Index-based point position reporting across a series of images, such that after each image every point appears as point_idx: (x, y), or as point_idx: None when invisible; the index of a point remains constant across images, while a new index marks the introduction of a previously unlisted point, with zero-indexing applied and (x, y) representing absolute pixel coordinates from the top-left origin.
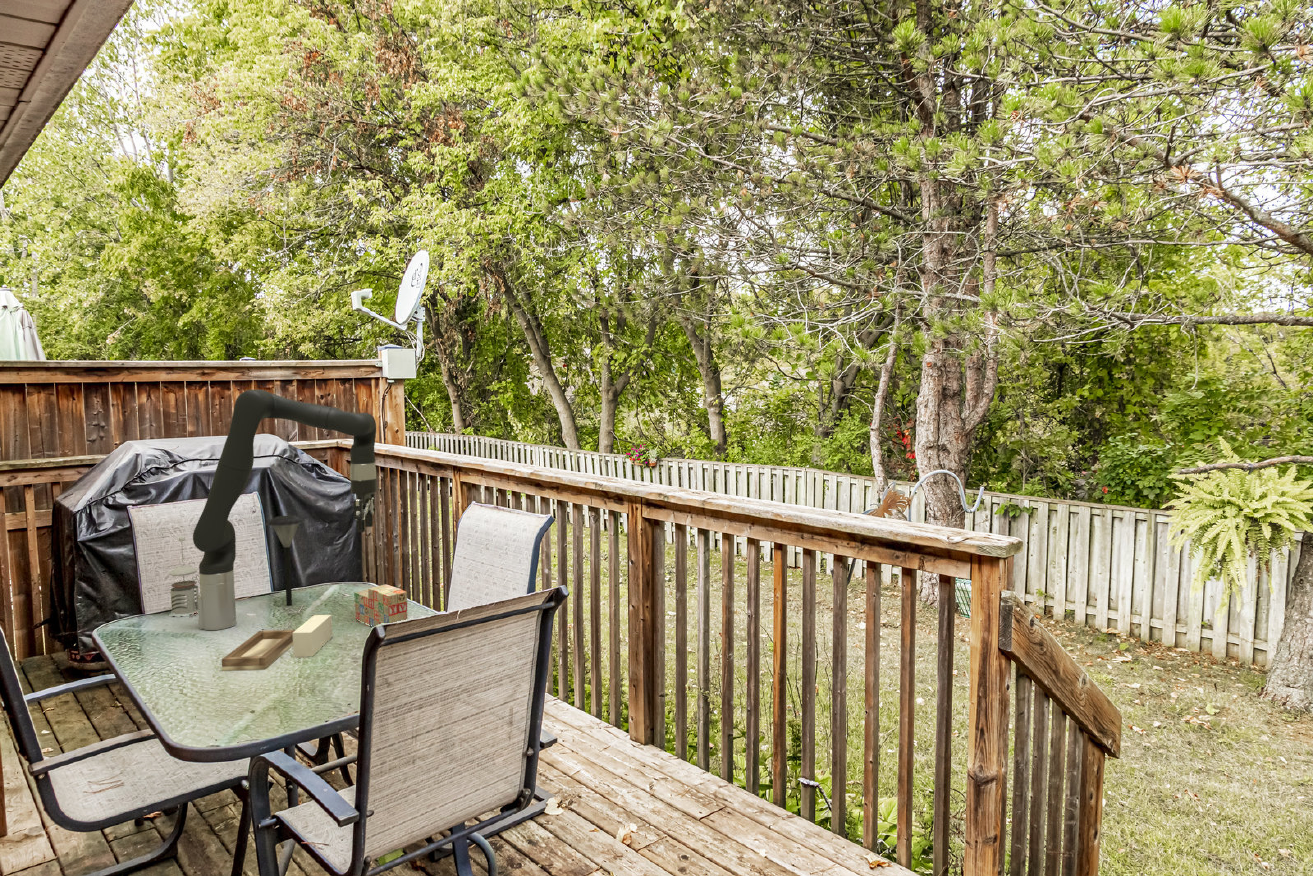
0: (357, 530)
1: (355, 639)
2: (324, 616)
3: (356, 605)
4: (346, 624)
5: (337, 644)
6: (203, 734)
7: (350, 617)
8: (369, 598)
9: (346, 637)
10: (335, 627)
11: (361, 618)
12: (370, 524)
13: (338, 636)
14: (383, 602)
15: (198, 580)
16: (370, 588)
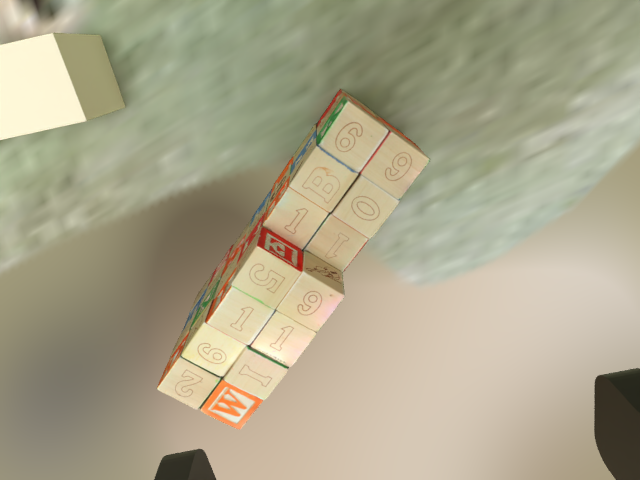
0: (160, 473)
1: (130, 207)
2: (52, 101)
3: (334, 107)
4: (286, 74)
5: (63, 171)
6: None
7: (382, 38)
8: (256, 233)
9: (140, 163)
10: (241, 47)
11: (308, 136)
12: (620, 457)
13: (142, 125)
14: (188, 335)
15: None
16: (255, 259)
